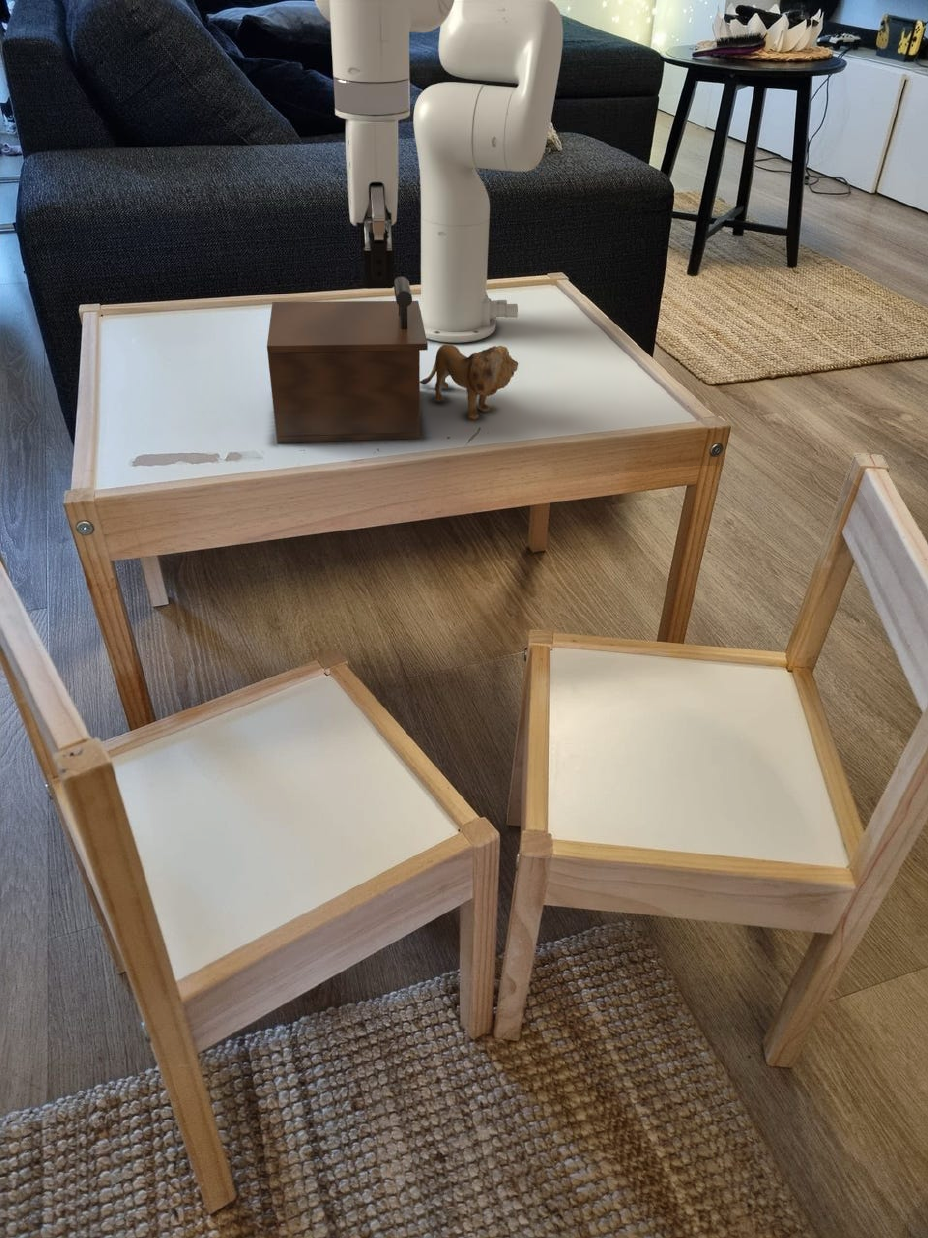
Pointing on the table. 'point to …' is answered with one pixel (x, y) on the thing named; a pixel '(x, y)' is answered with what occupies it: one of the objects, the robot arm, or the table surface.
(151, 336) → the table surface
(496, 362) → the lion figurine
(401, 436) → the chest
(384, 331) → the lid
